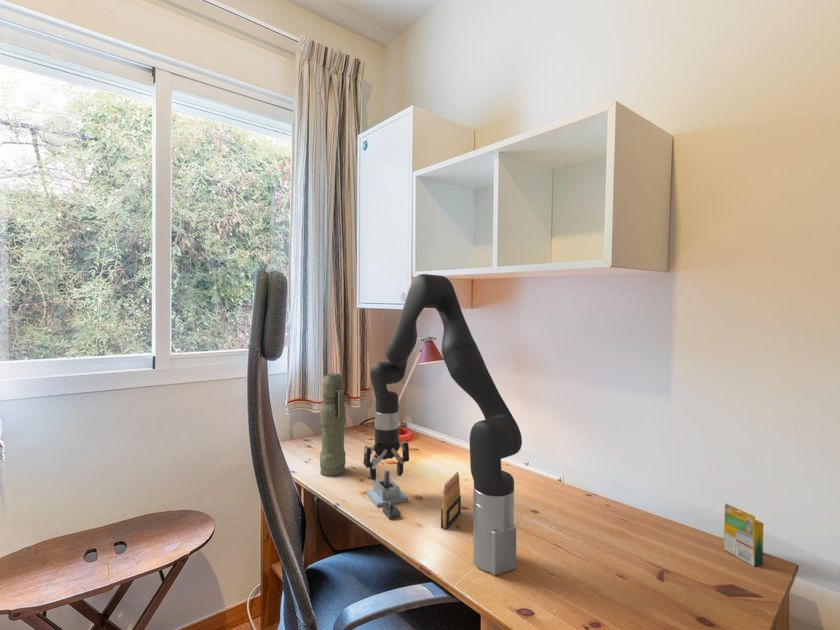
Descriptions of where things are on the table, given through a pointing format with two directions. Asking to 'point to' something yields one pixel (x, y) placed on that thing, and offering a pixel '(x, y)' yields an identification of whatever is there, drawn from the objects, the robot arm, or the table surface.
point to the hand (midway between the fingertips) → (386, 477)
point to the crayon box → (743, 535)
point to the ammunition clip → (451, 502)
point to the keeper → (375, 497)
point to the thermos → (332, 426)
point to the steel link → (386, 490)
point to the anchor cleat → (391, 510)
